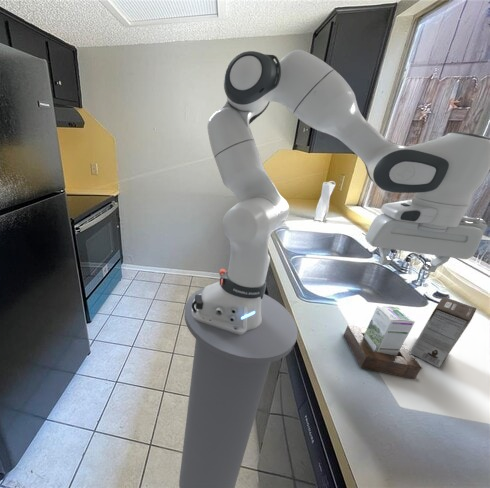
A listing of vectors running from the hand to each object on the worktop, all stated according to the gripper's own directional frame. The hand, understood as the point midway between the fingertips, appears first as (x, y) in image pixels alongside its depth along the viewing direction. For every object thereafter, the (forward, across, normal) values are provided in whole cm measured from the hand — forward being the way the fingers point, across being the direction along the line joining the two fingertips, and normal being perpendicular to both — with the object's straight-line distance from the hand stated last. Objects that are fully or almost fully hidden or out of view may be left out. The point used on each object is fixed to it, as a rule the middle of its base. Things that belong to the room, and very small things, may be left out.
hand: (405, 267), depth 62 cm
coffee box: (+26, -17, -3) cm, 31 cm away
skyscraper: (+27, -21, -128) cm, 132 cm away
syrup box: (+27, -2, +2) cm, 27 cm away
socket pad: (+26, -2, +2) cm, 27 cm away
